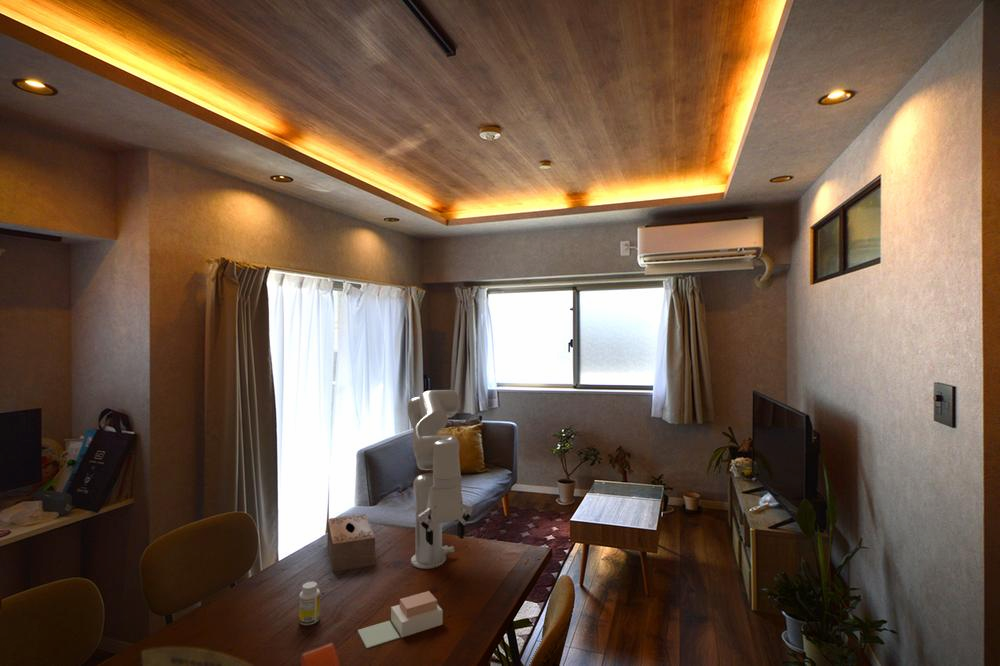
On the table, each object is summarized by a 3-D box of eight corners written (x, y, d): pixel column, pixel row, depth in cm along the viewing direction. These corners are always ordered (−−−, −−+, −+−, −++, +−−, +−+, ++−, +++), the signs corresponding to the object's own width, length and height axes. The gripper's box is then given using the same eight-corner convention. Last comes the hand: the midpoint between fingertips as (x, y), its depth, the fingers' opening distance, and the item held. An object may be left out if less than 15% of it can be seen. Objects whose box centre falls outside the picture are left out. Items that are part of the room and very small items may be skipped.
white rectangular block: (430, 609, 146) (430, 595, 146) (442, 624, 139) (442, 610, 139) (390, 621, 140) (391, 607, 140) (401, 637, 133) (401, 622, 133)
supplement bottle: (313, 613, 144) (313, 578, 144) (323, 620, 141) (324, 584, 141) (295, 621, 140) (295, 585, 140) (305, 628, 136) (305, 591, 137)
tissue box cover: (374, 565, 176) (375, 537, 176) (332, 572, 170) (332, 543, 170) (365, 538, 199) (365, 513, 199) (327, 544, 194) (327, 518, 194)
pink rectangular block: (428, 599, 145) (429, 590, 145) (437, 608, 140) (437, 600, 140) (399, 607, 140) (399, 599, 140) (406, 617, 135) (406, 608, 135)
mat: (389, 621, 140) (389, 620, 140) (399, 638, 132) (399, 636, 132) (357, 631, 135) (357, 629, 135) (366, 648, 128) (366, 647, 128)
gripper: (466, 475, 153) (466, 531, 153) (413, 483, 145) (413, 541, 145) (477, 481, 147) (477, 539, 146) (422, 489, 139) (421, 550, 138)
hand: (445, 540), depth 146 cm, fingers open, 9 cm apart
